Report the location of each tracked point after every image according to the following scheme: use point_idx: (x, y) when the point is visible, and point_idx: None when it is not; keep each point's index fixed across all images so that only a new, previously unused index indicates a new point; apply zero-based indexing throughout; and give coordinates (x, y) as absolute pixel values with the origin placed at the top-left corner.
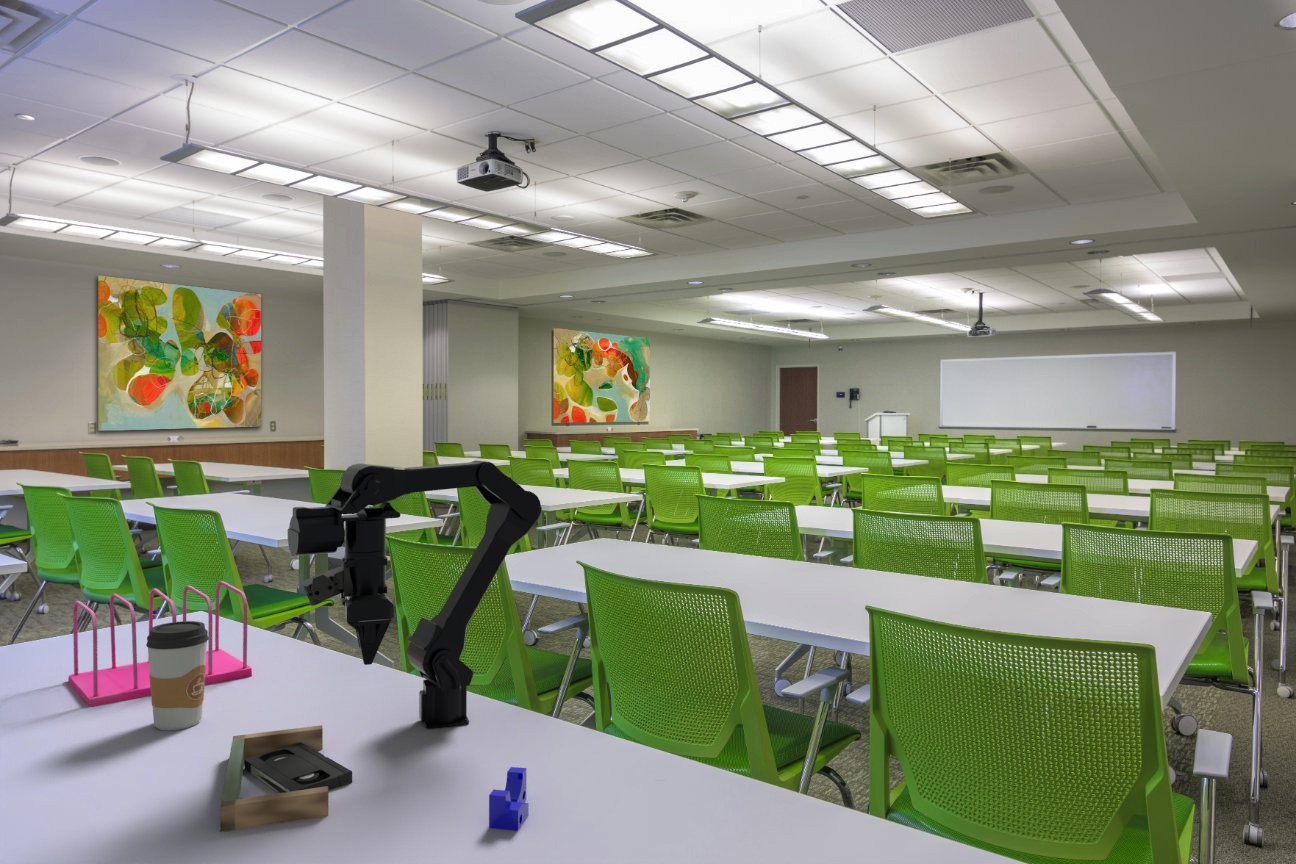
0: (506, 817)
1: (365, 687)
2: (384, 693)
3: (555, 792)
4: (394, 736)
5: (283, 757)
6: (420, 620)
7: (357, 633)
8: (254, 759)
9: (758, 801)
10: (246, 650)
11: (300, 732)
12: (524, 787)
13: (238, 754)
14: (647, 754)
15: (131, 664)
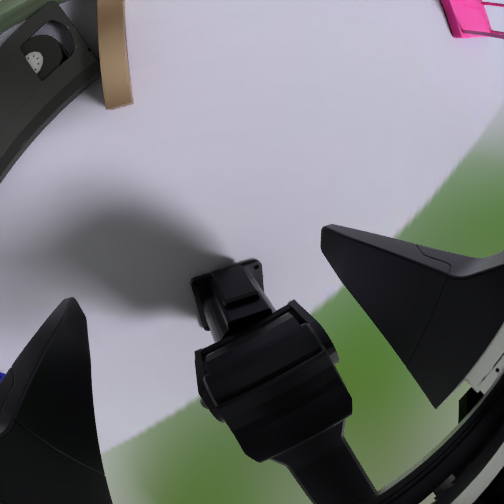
0: None
1: (400, 161)
2: (371, 190)
3: None
4: (162, 233)
5: (45, 60)
6: (349, 405)
7: (365, 247)
8: (43, 17)
9: None
10: (481, 34)
11: (100, 64)
12: None
13: (15, 1)
14: (116, 439)
15: None
